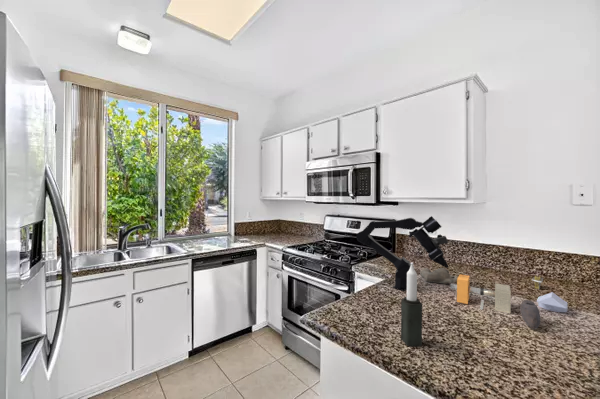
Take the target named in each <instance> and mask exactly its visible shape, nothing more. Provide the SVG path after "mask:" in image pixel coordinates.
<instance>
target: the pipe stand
mask: <svg viewBox="0 0 600 399" xmlns="http://www.w3.org/2000/svg"><path fill="white" fill-rule="evenodd" d="M449 287H450V288H449V289H450V290H454V291H457V283H456V284H455V283H450V285H449ZM468 292H469V294H474V295H481V296H486V297H491V298H494V312H500V313H505V314H511V304H512V303H511V302H512V301H511V299H512V296H511V294H512V292H511V286H510V285H508V284H501V283H496V282H495V283H494V290H491V289H485V288H478V287H473V286H470V287H468ZM484 303H485V300H484V299H480V306H479V309H480V310H483V309H484Z"/></svg>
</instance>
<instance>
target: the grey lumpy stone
mask: <svg viewBox="0 0 600 399" xmlns="http://www.w3.org/2000/svg"><path fill="white" fill-rule="evenodd" d="M419 274H420V277H421V278H423V279H424V281H425V282H426V283H435V284H442V285H443V284H444V285H445V284H455V283H457V278H458V276H456V275H452V274H450V271H449V269H447V268H446V267H440V268H437V269H435V270H433V271H431V270H430V268H427V267H424V268H422V269H421V270H420V272H419Z"/></svg>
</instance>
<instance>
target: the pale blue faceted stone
mask: <svg viewBox="0 0 600 399" xmlns="http://www.w3.org/2000/svg"><path fill="white" fill-rule="evenodd" d="M536 303H537V307H540V308H541V309H545V310H546V311H547V310H548V311H552V312H557V313H567V312H568V302H567V301H565V299H563V298H561V297H560V296H558V295H557V294H556V293H554V292H553V291H551V292H549V293H546V294H544V295H540V296H538V298H537V299H536Z"/></svg>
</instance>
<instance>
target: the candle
mask: <svg viewBox="0 0 600 399" xmlns="http://www.w3.org/2000/svg"><path fill="white" fill-rule="evenodd" d="M410 263H411V266H410V269H409V271H408V272H407V290H406V296H404V297H403V298H401V300H400V301H401V302H400V304H401V307H400V308H401V311H400V312H401V314H400V315H401V316H400V340H401V341H402V342H403V343H404V344H405V345H406V346H407V347H422V345H423V343H422V342H423V302H421V301H420V299H419V298H417V297H418V274H417V271H416V270H415V267H414V262H411V261H410Z"/></svg>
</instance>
